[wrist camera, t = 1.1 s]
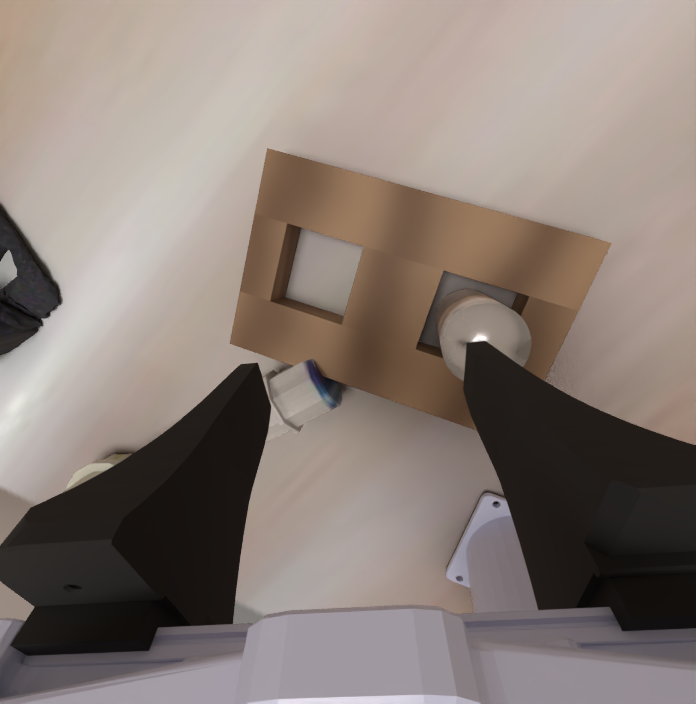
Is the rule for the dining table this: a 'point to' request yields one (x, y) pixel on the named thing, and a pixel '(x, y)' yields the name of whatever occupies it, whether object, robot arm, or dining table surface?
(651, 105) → the dining table surface
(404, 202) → the wooden holder tray
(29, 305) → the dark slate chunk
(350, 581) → the dining table surface
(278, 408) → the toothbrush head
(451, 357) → the steel pin
